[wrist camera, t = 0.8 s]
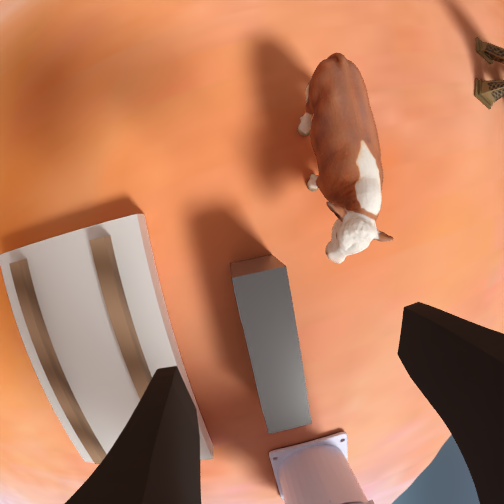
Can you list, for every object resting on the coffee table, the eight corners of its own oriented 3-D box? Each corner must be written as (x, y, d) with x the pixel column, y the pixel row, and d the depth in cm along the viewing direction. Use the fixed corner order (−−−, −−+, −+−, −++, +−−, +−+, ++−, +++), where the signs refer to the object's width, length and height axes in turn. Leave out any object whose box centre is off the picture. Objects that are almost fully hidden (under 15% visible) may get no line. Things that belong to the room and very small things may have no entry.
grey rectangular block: (295, 386, 25) (311, 423, 19) (259, 395, 25) (267, 434, 19) (271, 254, 23) (285, 266, 18) (229, 263, 23) (230, 277, 18)
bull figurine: (295, 252, 23) (332, 271, 15) (291, 84, 22) (320, 32, 14) (348, 250, 24) (403, 267, 15) (342, 90, 22) (387, 46, 14)
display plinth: (213, 445, 25) (212, 467, 22) (90, 450, 24) (81, 468, 21) (144, 213, 22) (131, 213, 19) (11, 252, 21) (-11, 257, 18)
